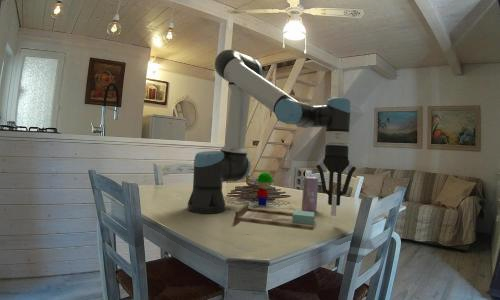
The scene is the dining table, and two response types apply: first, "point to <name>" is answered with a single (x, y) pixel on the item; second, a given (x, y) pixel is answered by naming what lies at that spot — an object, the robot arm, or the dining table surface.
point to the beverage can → (310, 193)
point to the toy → (263, 187)
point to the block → (303, 217)
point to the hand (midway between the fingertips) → (333, 214)
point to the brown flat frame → (265, 217)
